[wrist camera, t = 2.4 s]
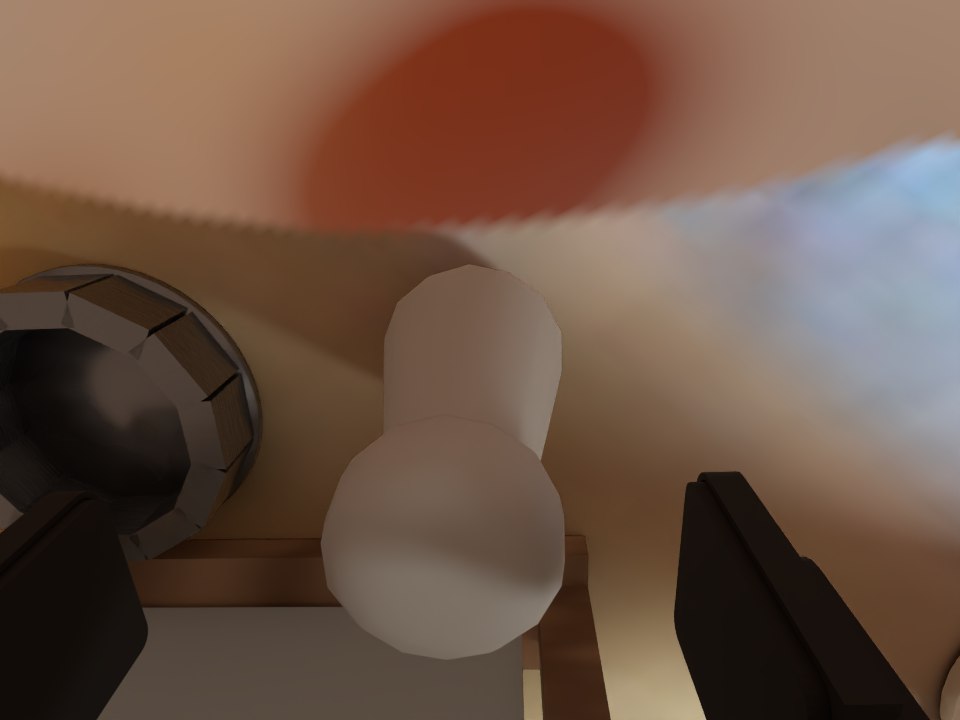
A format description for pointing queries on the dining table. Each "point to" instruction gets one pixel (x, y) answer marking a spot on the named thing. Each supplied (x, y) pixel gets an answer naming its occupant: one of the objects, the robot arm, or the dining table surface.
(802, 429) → the dining table surface
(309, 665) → the door
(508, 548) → the salt shaker
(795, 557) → the robot arm
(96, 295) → the socket
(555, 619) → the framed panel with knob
